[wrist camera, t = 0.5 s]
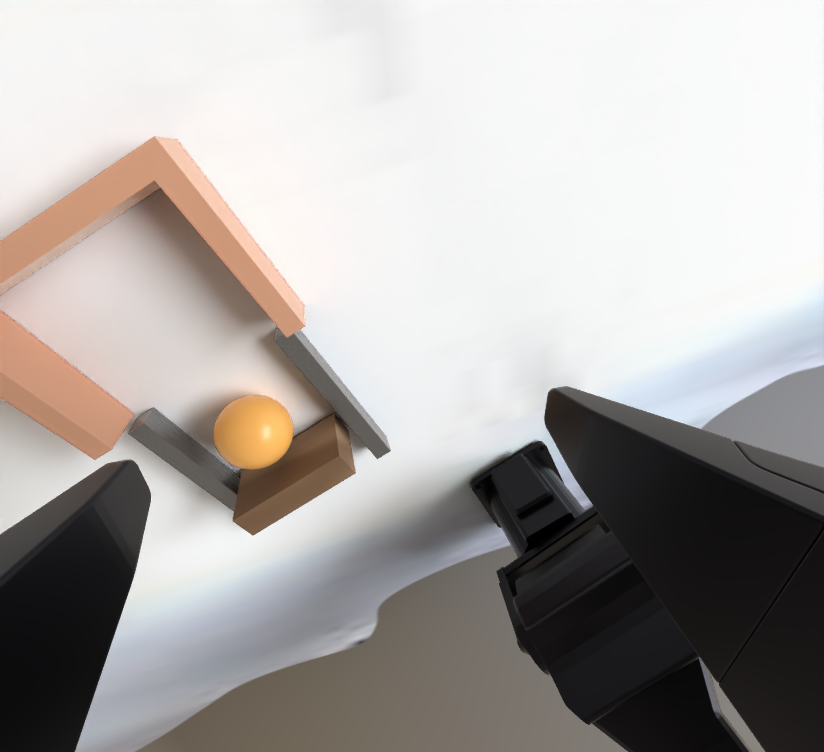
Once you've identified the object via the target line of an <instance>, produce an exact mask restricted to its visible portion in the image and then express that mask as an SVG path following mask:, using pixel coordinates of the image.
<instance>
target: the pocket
mask: <svg viewBox="0 0 824 752" xmlns="http://www.w3.org/2000/svg"><path fill="white" fill-rule="evenodd" d="M159 188H161V189H162V190H163V191H164V192H165V193H166V195H167V196H168V197H169V198H170V199H171V200H172V202H173V203H174V204H175V205H176V206H177V208H178V209H179V210H180V211H181V212H182V214H183V215H184V216H185V217H186V218H187V220H188V221H189V222H190V223H191V224H192V225H193V227H194V228H195V229H196V230H197V231H198V233H199V234H200V235H201V236H202V237H203V239H204V240H205V241H206V242H207V243H208V244H209V246H210V247H211V248H212V249H213V250H214V252H215V253H216V254H217V255H218V256H219V258H220V259H221V260H222V261H223V262H224V263H225V265H226V266H227V267H228V268H229V269H230V271H231V272H232V273H233V274H234V275H235V277H236V278H237V279H238V280H239V281H240V282H241V284H242V285H243V286H244V287H245V288H246V290H247V291H248V292H249V293H250V294H251V296H252V297H253V298H254V299H255V300H256V302H257V303H258V304H259V305H260V306H261V307H262V309H263V310H264V311H265V312H266V313H267V315H268V316H269V317H270V318H271V319H272V321H273V322H274V323H275V324H276V325H277V326H278V328H279V329H280V330H281V331H282V332H283V334H284V335H285V336H286V337H289V336H291V335H292V334H294V333H295V332H297V331H298V330H300V329H302V328H303V327H305V308H304V304H303V303H302V302H301V300H300V299H299V298H298V296H297V295H296V294H295V292H294V291H293V290H292V289H291V287H290V286H289V285H288V283H287V282H286V281H285V279H284V278H283V277H282V275H281V274H280V273H279V272H278V270H277V269H276V268H275V266H274V265H273V264H272V262H271V261H270V260H269V259H268V257H267V256H266V255H265V253H264V252H263V251H262V249H261V248H260V247H259V245H258V244H257V243H256V242H255V240H254V239H253V238H252V236H251V235H250V234H249V232H248V231H247V230H246V228H245V227H244V226H243V225H242V223H241V222H240V221H239V219H238V218H237V217H236V215H235V214H234V213H233V211H232V210H231V209H230V208H229V206H228V205H227V204H226V202H225V201H224V200H223V198H222V197H221V196H220V195H219V193H218V192H217V191H216V189H215V188H214V187H213V185H212V184H211V183H210V181H209V180H208V179H207V178H206V176H205V175H204V174H203V172H202V171H201V170H200V168H199V167H198V166H197V164H196V163H195V162H194V161H193V159H192V158H191V157H190V155H189V154H188V153H187V151H186V150H185V149H184V148H183V146H182V145H181V144H180V142H179V141H178V140H177V139H170V138H163V137H156V136H154V137H153V138H151V139H150V140H148V141H147V142H145V143H144V144H142V145H141V146H140V147H138V148H137V149H135V150H134V151H132V152H131V153H129V154H128V155H126V156H125V157H123V158H122V159H120V160H119V161H117V162H116V163H115V164H113V165H112V166H110V167H109V168H107V169H106V170H104V171H103V172H101V173H100V174H98V175H97V176H95V177H94V178H93V179H91V180H90V181H88V182H87V183H85V184H84V185H82V186H81V187H79V188H78V189H76V190H75V191H73V192H72V193H71V194H69V195H68V196H66V197H65V198H63V199H62V200H60V201H59V202H57V203H56V204H54V205H53V206H51V207H50V208H49V209H47V210H46V211H44V212H43V213H41V214H40V215H38V216H37V217H35V218H34V219H32V220H31V221H29V222H28V223H27V224H25V225H24V226H22V227H21V228H19V229H18V230H16V231H15V232H13V233H12V234H10V235H9V236H7V237H6V238H4V239H3V240H2V241H0V295H2V294H3V293H5V292H6V291H8V290H9V289H11V288H12V287H13V286H15V285H16V284H18V283H19V282H21V281H22V280H24V279H25V278H27V277H28V276H30V275H31V274H33V273H34V272H36V271H37V270H39V269H40V268H42V267H43V266H45V265H46V264H48V263H49V262H51V261H52V260H54V259H55V258H57V257H58V256H60V255H61V254H63V253H64V252H66V251H67V250H68V249H70V248H71V247H73V246H74V245H76V244H77V243H79V242H80V241H82V240H83V239H85V238H86V237H88V236H89V235H91V234H92V233H94V232H95V231H97V230H98V229H100V228H101V227H103V226H104V225H106V224H107V223H109V222H110V221H112V220H113V219H115V218H116V217H118V216H119V215H121V214H122V213H123V212H125V211H126V210H128V209H129V208H131V207H132V206H134V205H135V204H137V203H138V202H140V201H141V200H143V199H144V198H146V197H147V196H149V195H150V194H152V193H153V192H155V191H156V190H158V189H159ZM0 398H2V399H3V400H5V401H6V402H8V403H9V404H11V405H12V406H14V407H15V408H17V409H18V410H20V411H21V412H23V413H25V414H26V415H28V416H29V417H31V418H32V419H34V420H35V421H37V422H38V423H40V424H41V425H43V426H44V427H46V428H47V429H49V430H50V431H52V432H53V433H55V434H56V435H58V436H59V437H61V438H62V439H64V440H66V441H67V442H69V443H70V444H72V445H73V446H75V447H76V448H78V449H79V450H81V451H82V452H84V453H85V454H87V455H88V456H90V457H91V458H93V459H94V460H96V459H97V458H99V457H100V456H102V455H104V454H105V453H107V452H108V451H110V450H111V449H112V448H113V447H114V445H115V444H116V442H117V441H118V439H119V437H120V436H121V434H122V433H123V431H124V430H125V428H126V427H127V425H128V423H129V422H130V420H131V419H132V417H133V416H134V413H133V412H131V411H130V410H129V409H127V408H126V407H125V406H124V405H122V404H121V403H120V402H118V401H117V400H116V399H114V398H113V397H112V396H111V395H109V394H108V393H107V392H105V391H104V390H103V389H102V388H100V387H99V386H98V385H96V384H95V383H94V382H93V381H91V380H90V379H89V378H87V377H86V376H85V375H84V374H82V373H81V372H80V371H78V370H77V369H76V368H74V367H73V366H72V365H71V364H69V363H68V362H67V361H65V360H64V359H63V358H62V357H60V356H59V355H58V354H56V353H55V352H54V351H53V350H51V349H50V348H49V347H47V346H46V345H45V344H43V343H42V342H41V341H40V340H38V339H37V338H36V337H34V336H33V335H32V334H31V333H29V332H28V331H27V330H25V329H24V328H23V327H22V326H20V325H19V324H18V323H16V322H15V321H14V320H12V319H11V318H10V317H9V316H7V315H6V314H5V313H3V312H2V311H1V310H0Z"/></svg>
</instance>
